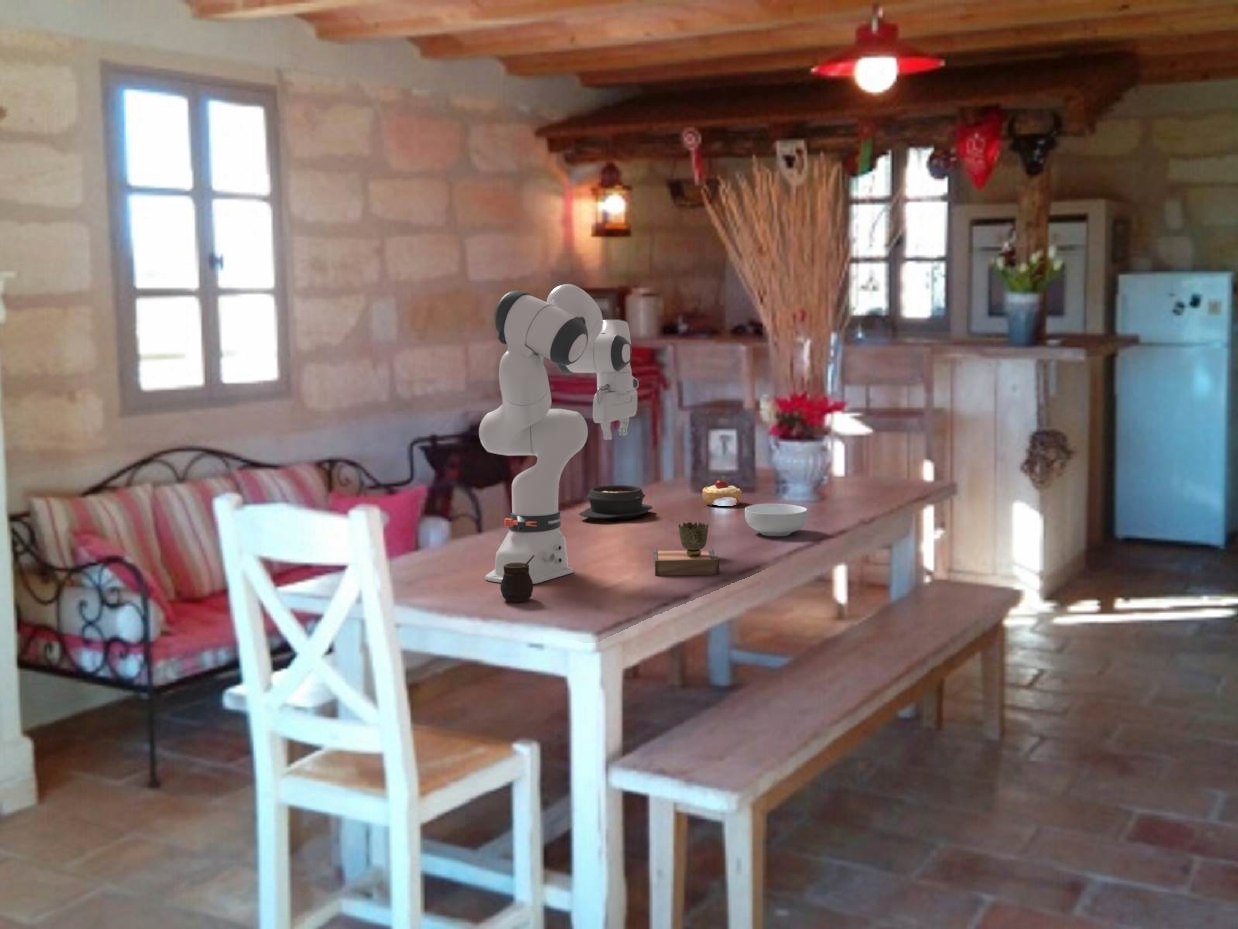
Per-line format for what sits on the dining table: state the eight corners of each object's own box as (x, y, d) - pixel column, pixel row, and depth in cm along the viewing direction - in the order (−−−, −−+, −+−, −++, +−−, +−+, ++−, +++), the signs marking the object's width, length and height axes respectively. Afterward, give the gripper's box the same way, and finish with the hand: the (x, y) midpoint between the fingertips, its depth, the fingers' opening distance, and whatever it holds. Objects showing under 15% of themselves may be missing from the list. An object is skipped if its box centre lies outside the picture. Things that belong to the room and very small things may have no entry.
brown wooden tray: (719, 574, 331) (718, 560, 331) (655, 575, 331) (655, 560, 331) (711, 548, 362) (711, 535, 362) (653, 549, 362) (653, 536, 362)
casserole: (613, 526, 396) (613, 497, 395) (564, 520, 408) (563, 491, 407) (667, 514, 416) (667, 485, 415) (618, 508, 427) (618, 480, 426)
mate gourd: (498, 598, 311) (497, 553, 310) (532, 595, 313) (531, 551, 312) (503, 605, 304) (501, 559, 303) (537, 602, 306) (536, 557, 305)
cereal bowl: (777, 542, 369) (777, 515, 369) (732, 534, 382) (731, 508, 381) (820, 533, 381) (820, 507, 380) (774, 526, 393) (774, 501, 392)
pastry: (697, 507, 427) (696, 478, 425) (708, 501, 438) (708, 472, 436) (735, 509, 422) (735, 479, 421) (746, 502, 433) (746, 474, 432)
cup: (697, 559, 347) (697, 527, 346) (673, 556, 352) (672, 525, 351) (714, 554, 353) (714, 523, 352) (690, 552, 358) (689, 520, 357)
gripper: (609, 386, 347) (610, 442, 348) (641, 380, 365) (642, 433, 367) (585, 386, 349) (587, 441, 351) (618, 380, 368) (619, 432, 370)
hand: (615, 437), depth 359 cm, fingers open, 8 cm apart
